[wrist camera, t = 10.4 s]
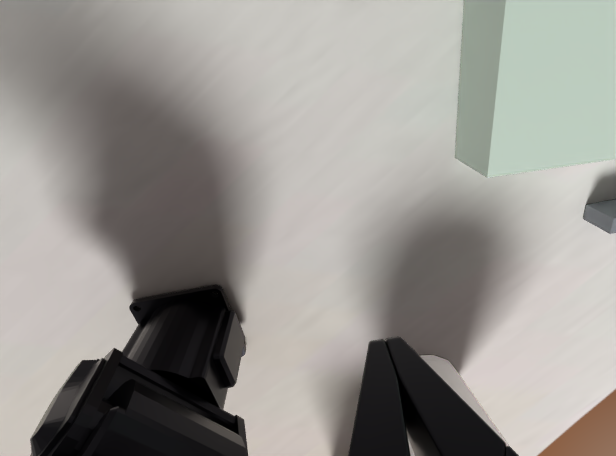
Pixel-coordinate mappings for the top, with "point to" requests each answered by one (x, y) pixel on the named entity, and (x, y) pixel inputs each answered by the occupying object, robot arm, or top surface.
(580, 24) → the carton
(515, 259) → the top surface
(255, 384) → the top surface
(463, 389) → the foam cup
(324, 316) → the top surface
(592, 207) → the stand
